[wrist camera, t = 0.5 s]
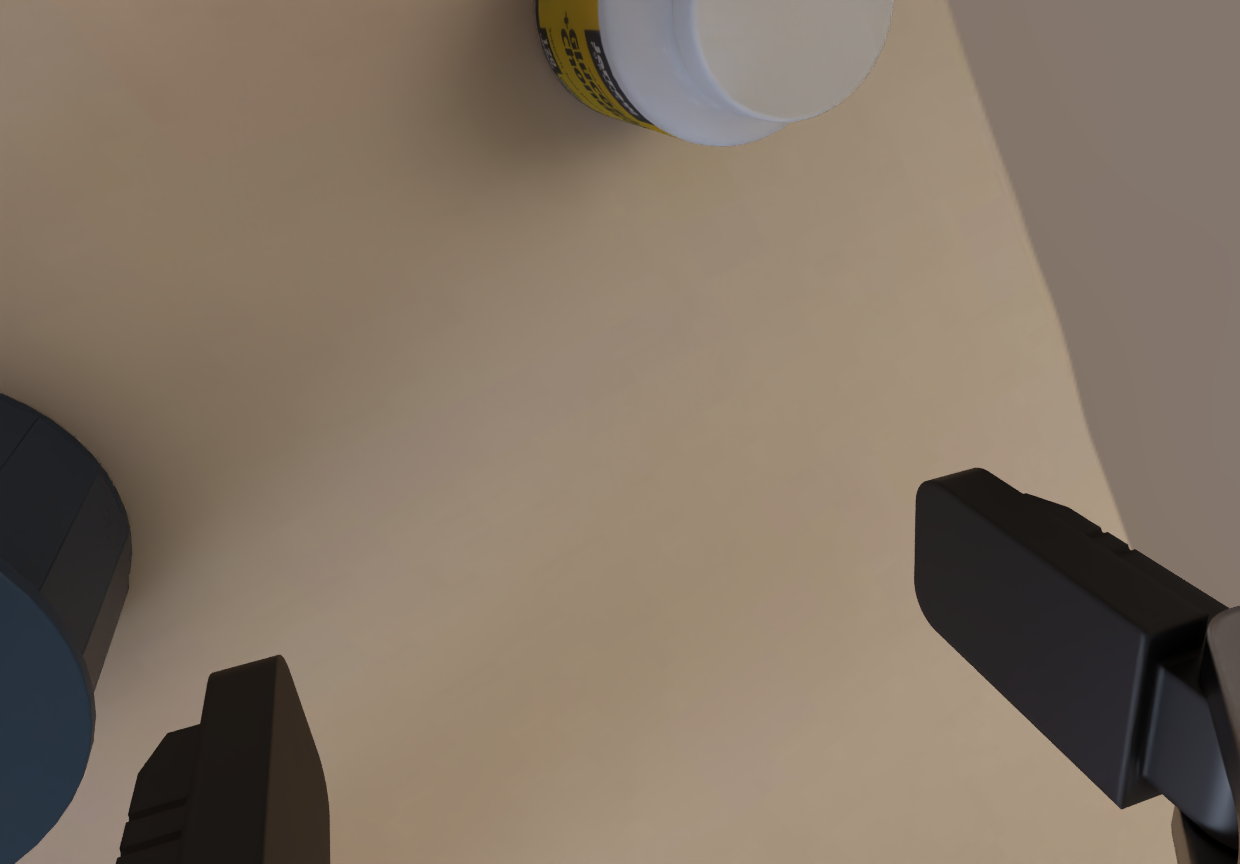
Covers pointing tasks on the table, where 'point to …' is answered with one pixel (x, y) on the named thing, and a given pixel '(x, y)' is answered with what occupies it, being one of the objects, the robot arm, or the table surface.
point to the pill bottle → (712, 60)
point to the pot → (63, 527)
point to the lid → (38, 716)
